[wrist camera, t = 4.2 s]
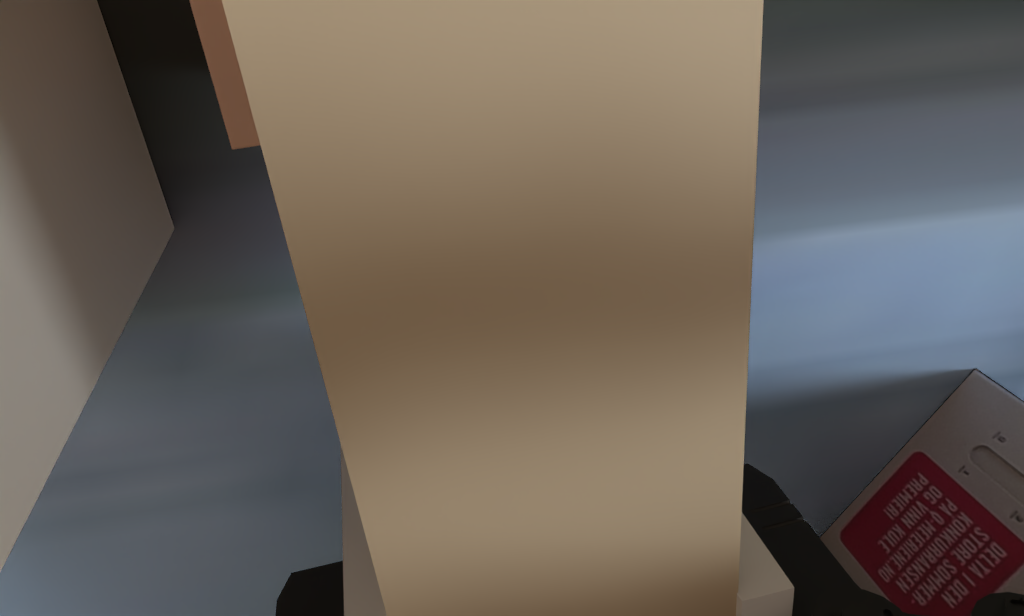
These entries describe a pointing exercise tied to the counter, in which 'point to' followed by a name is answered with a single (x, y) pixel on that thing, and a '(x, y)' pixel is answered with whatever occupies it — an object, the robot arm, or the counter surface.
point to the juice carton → (944, 509)
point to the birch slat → (524, 285)
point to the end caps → (64, 232)
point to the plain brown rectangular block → (225, 72)
